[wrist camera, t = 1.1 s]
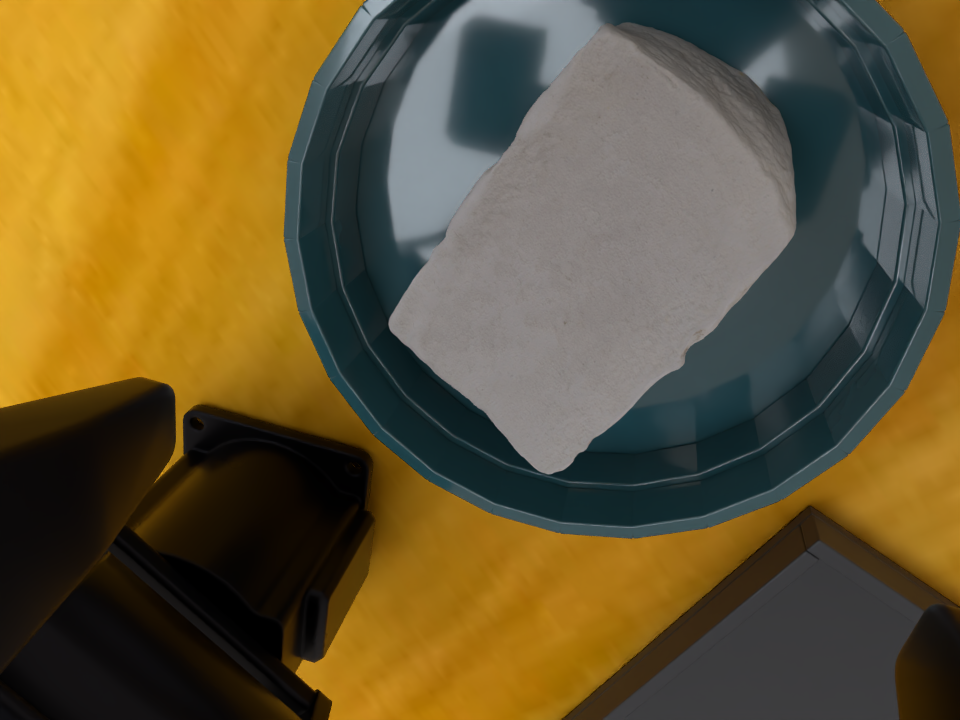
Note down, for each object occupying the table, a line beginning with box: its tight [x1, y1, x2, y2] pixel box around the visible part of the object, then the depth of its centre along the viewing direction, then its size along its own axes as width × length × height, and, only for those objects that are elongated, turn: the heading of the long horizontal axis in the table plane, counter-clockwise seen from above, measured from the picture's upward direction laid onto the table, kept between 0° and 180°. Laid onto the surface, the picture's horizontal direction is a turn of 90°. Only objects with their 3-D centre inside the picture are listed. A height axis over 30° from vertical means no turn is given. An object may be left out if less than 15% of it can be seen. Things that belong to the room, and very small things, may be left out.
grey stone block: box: [388, 22, 797, 474], centre depth 18 cm, size 10×6×6 cm, turn 141°
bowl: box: [284, 0, 960, 539], centre depth 18 cm, size 14×14×4 cm
